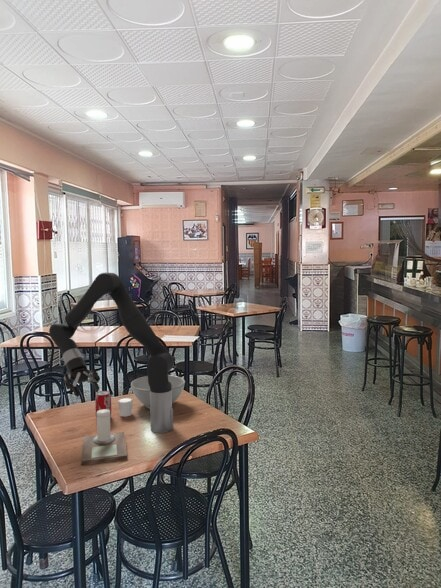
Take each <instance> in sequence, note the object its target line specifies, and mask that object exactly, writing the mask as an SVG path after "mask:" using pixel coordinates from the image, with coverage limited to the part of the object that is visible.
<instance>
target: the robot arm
mask: <svg viewBox="0 0 441 588" xmlns="http://www.w3.org/2000/svg"><path fill="white" fill-rule="evenodd" d="M105 295H108V296H110V297H111V299H112V300H113V302H114V303H115V306H116V307H117V310H118V314H119V317H120V318H119V319H120V321H121V323H122V325H123V326H124V328H125V330H126V331H127V332H128V334H129V336H130V337H131V338H132V339H134V340H135V341H137V342H138V343H139V344H140V345H142V346H143V347H144V348H145V349H146V350H147V352H148V354H149V355H150V357H149V358H148V360H147V364H146V365H147V368H146V370H147V371H146V373H147V376H148V384H149V386H150V409H149V411H150V431H151V432H153V433H159V434H162V433H167V432H170V431H173V430H174V408H173V405H172V404H173V403H172V385H171V383H170V382H169V381H168V375H169V372H170V371H171V370H172V369H173V368H174V365H175V363H174V362H175V361H174V357H173V356H172V354H171V353H170V352H169V351H168V349H167V348H166V346H164V344H163V343H162V342H161V341H160V339H159V338H158V336H157V334H156V333H155V332H154V330H153V329H152V327H151V325H150V324H149V322H148V321H147V319H146V318H145V316H144V315H143V313H142V312H141V311H140V309H139V308H138V306H137V304H136V303H135V301H134V300H133V298H132V297H131V296H130V295H129V292H128V291H127V289H126V287H125V285H124V283H123V280H122V279H121V278H120V276H119V275H118V274H117V273H115V272H101V273H99V274H98V275H96V277H95V278H94V280H93V281H92V283H91V284H90V286H89V287H88V289H87V290H86V291H85V293H84V294H83V296H82V297H81V298H80V300H79V301H78V302H77V303H76V304H75V305H73V307H72V308H71V309H70V311H68V312H67V314H65V316H64V319H65V320H64V321H65V323H66V324H65V323H60V322H55V323H52V324H51V325H50V327H49V330H48V333H49V337H50V338H51V340H52V341H53V343H54V344H55V346H57V348H58V349H59V351H60V353H61V356H62V360H63V362H64V364H65V367H66V369H67V371H68V373H65V374H64V376H63V382H64V385H65V388H66V389H67V390H72V392H73V394H74V396H75V397H76V398H77V397H80V395H81V392H80V390H79V388H78V386H77V384H81V383H89V384H91V385H92V388H93V390H94V392H95V393H97V392H100V391H99V390H100V386H99V381H100V380H101V377H100V375H99V374H98V372H97V370H96V368H92V369H91V370H89V369H88V367H87V364H86V361H85V360H84V358H83V354H82V353H81V351H80V349H79V348H78V345H77V343H76V342H75V340H74V339H72V337H73V336H74V335H75V334H76V331H77V330H78V327H79V325H80V324H81V323H82V322H83V321H84V320H85V319H86V318H87V317H88V316H89V315H90V314H91V311H92V309H93V308H94V305H95V304H96V303H97V302H98V301H99V300H100V299H101V298H102V297H103V296H105ZM70 379H71V380H73V381H72V382H71V380H70Z"/></svg>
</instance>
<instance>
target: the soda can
mask: <svg viewBox="0 0 441 588" xmlns="http://www.w3.org/2000/svg"><path fill="white" fill-rule="evenodd" d="M94 402H95V405H94V406H95V418H96V419H97V411H99V410H103V409H107V410H110V418H111V417H112V396H111V394H110V391H108V390H102V391H101V390H100V391H98V392H96V395H95V398H94Z"/></svg>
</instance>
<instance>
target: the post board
mask: <svg viewBox="0 0 441 588" xmlns="http://www.w3.org/2000/svg"><path fill="white" fill-rule="evenodd" d="M82 442H83V443H82V450H81V451H82V452H81V461H80V463H81V466H85V465H86V466H87V465H94V464H101V463H109V462H115V461H116V462H117V461H124V460H128V453H127V445H126V438H125V432H124V431H120V432H113V433H111V439H109V440H107V441H98V437H97V434H93V435H86V436H83V440H82Z"/></svg>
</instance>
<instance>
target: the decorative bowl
mask: <svg viewBox="0 0 441 588" xmlns="http://www.w3.org/2000/svg"><path fill="white" fill-rule="evenodd" d="M168 381H169V382H170V383H171V385H172V404H173V403H175V402H176V401H177V400H178V398H180V396H181V394H182V392H183V390H184V388H185V384H186V380H185V379H184V378H183V377H181V376H178V375H177V376H176V375H172V374H171V375H170V374H168ZM130 387H131V391H132V393H133V394H134V397H135V398H136V399H137V400H138V401H139V402H140V403H141V404H143V405H144V406H145V408H147V409H148V410H150V386H149V384H148V375H145V376H142V377H137V378H136V379H134V380H132V381H131V382H130Z"/></svg>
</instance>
